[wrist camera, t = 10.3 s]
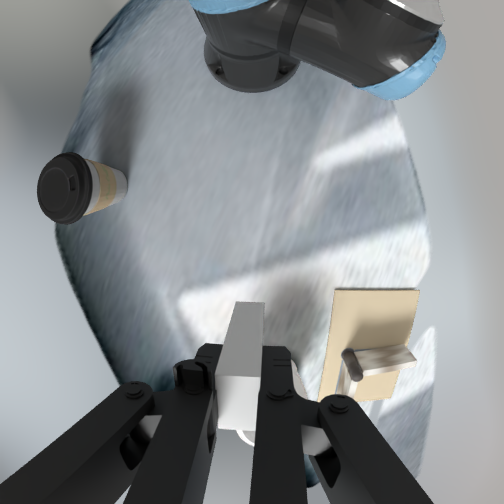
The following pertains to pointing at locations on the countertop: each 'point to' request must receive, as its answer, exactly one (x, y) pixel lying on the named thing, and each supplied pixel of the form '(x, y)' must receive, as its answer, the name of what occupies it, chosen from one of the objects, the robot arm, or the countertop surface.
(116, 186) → the coffee cup
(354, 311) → the card
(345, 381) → the fence fixed
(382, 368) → the fence flap
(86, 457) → the robot arm
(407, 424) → the countertop surface
